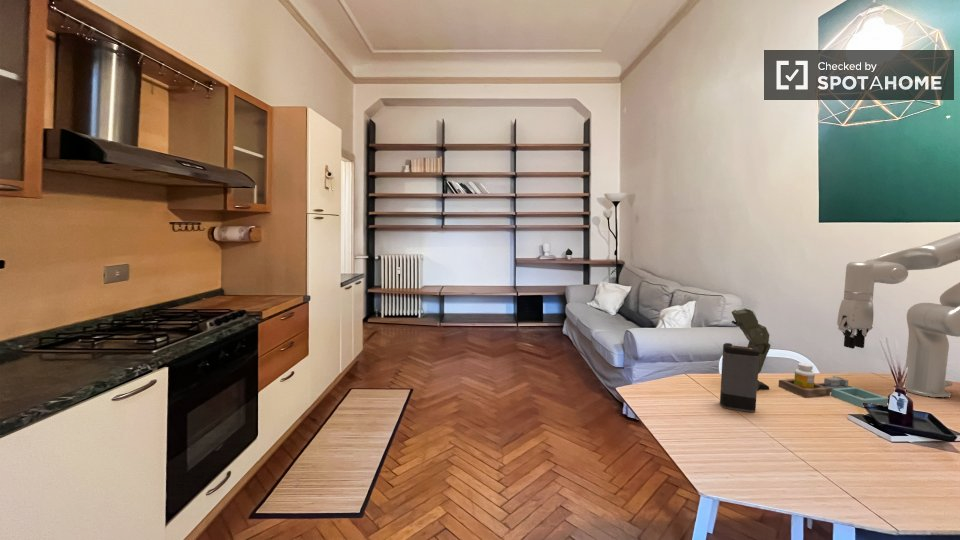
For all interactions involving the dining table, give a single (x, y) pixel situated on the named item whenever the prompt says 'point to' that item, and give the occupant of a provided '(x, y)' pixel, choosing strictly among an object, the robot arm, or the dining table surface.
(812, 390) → the socket block
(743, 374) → the electronic device
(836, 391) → the green square tray
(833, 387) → the guide
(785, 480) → the dining table surface
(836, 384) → the grey stepped block
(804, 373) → the supplement bottle
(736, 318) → the mechanical leg
